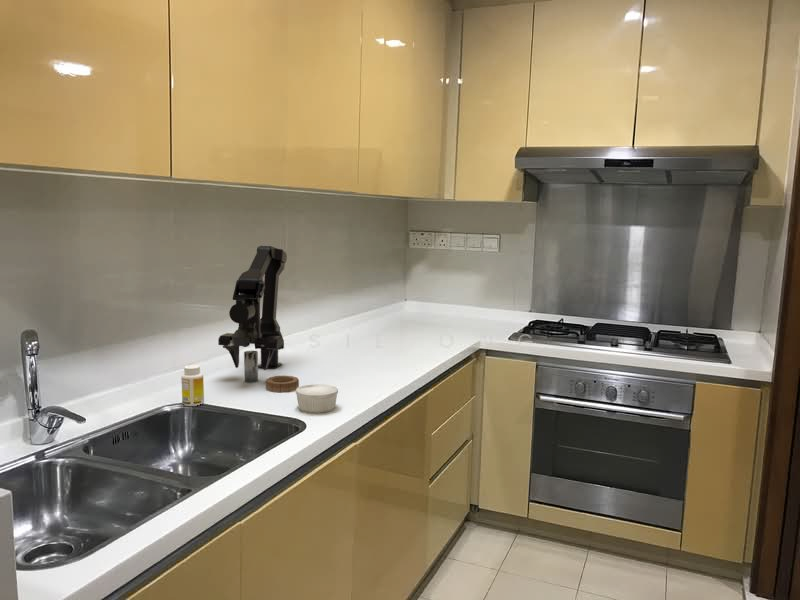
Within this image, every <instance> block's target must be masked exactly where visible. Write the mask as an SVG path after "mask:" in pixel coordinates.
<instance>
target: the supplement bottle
mask: <svg viewBox="0 0 800 600" xmlns="http://www.w3.org/2000/svg"><path fill="white" fill-rule="evenodd" d="M183 372H184V373H182V375H181V403H182V404H184V405H183V406H185V407H198V406H201V405H203V404H204V402H205V394H204V393H205V391H204V374H203V372H201V367H200V365H199V364H190V365H185V366H184V370H183ZM200 404H201V405H200ZM197 405H198V406H197Z"/></svg>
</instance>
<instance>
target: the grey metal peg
mask: <svg viewBox="0 0 800 600" xmlns="http://www.w3.org/2000/svg"><path fill="white" fill-rule="evenodd" d="M243 359H244V360H243V361H244V362H243V363H244V364H243V366H244V373H243V374H244V383H249V384H251V383H258V382H259V367H258V365H259V352H258V351H257V350H246V351H243Z"/></svg>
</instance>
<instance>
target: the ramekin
mask: <svg viewBox="0 0 800 600" xmlns="http://www.w3.org/2000/svg"><path fill="white" fill-rule="evenodd" d="M338 393H339V388H338V387H337V386H334V385H331V384H324V383H312V384H304V385H299V387H298V388H297V389H296V390H295V394H296V400H297V405H298V408H299V409H300V411H302V412H305V413H310V414H320V413H328V412H330V410H331V411H333V410H334V408H335V407H336V404H337V397H338Z"/></svg>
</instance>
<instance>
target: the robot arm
mask: <svg viewBox="0 0 800 600" xmlns="http://www.w3.org/2000/svg"><path fill="white" fill-rule="evenodd" d="M287 257H288V254H287V252H286V251H284V250H283V248H276V247H274V246H272V245H259V246H257V248H256V254H255V255H254V258H253V260H252V262H251V263H250V266H249V268H248V270H246V271H244V272H241V274H240V275H239V277H238V279H236V281H235V287H234V290H233V295H232V301H235V304H233V305H232V306H231V307H230V309H229V311H228V312H229V318H230V319H231V321H232V322H234V323H236V324H238V327H237V329H236V330H235V331H234V332H233V333H231V332H226V333H223V334H221V335H219V337H218V339H217V340H218V341H217V343H218V346H222V348H223V349H225V350H227V351H228V352H229V354H230V357H231V359H232V362H233V364H234V367H235V368H236V369H237V368H239V366H240V365H239V364H240V347H243V348H247V347H249V346H250V344H252V345H253V344H254V349H256V350H260V364H259V363H258V369H259V368H261V369H263V370H264V371H266V370H267V369H277V368H279V367H280V366H282V365H283V363H282V362H279V351H280V350H284V349H285V341H284V337H283V334H282V331H281V326H280V324H279V322H278V321H277V309H278V308H277V307H278V297H279V296H278V293H279V281H280V275H281V273H283V271H284V270H285V265H286V263H287V259H288V258H287ZM261 300H262V309H261ZM261 311H262V312H261Z"/></svg>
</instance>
